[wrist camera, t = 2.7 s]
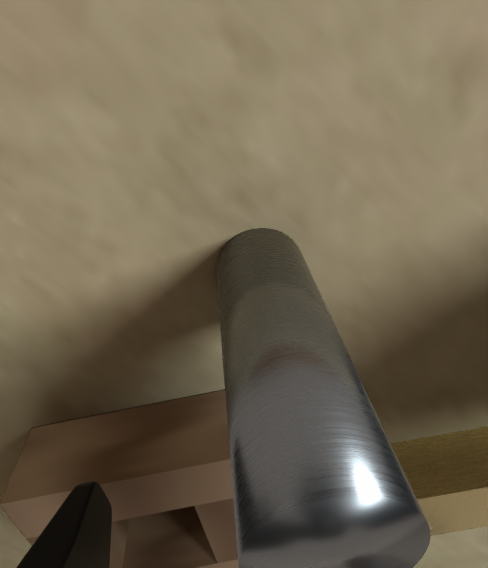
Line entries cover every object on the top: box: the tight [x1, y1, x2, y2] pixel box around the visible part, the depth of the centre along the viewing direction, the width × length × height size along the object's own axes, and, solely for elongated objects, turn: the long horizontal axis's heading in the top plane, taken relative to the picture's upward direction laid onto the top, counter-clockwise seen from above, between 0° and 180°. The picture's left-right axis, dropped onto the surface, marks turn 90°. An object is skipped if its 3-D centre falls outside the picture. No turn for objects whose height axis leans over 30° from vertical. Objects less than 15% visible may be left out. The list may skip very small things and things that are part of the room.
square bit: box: [391, 427, 488, 536], centre depth 21 cm, size 8×3×3 cm, turn 98°
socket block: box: [0, 390, 239, 568], centre depth 19 cm, size 9×9×4 cm
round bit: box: [216, 228, 430, 568], centre depth 11 cm, size 3×3×10 cm
